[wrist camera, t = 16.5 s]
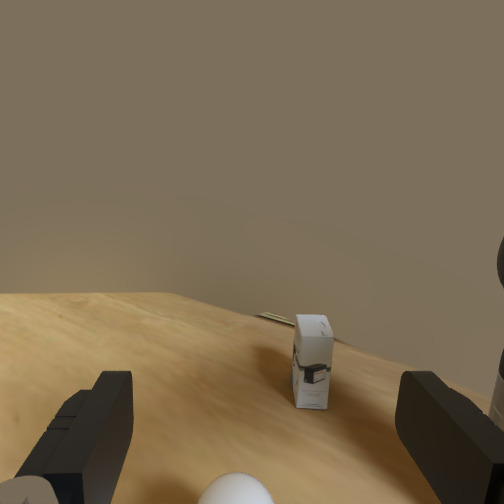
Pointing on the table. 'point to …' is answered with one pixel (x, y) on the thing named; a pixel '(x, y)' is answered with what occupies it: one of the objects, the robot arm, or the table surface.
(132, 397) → the robot arm
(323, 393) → the ink box
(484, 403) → the table surface
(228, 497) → the lightbulb
